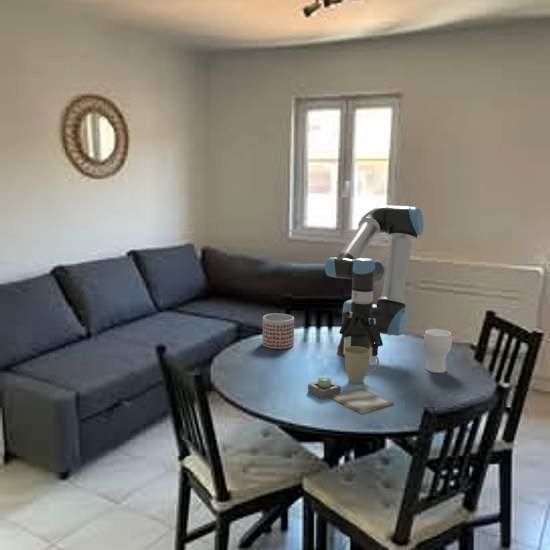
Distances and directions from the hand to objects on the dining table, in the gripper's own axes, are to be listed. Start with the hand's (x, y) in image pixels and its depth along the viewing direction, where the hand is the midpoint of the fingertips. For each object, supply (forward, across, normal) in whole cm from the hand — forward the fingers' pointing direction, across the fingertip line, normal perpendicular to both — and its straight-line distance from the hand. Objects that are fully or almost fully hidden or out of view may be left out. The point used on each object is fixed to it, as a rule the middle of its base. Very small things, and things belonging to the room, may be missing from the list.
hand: (359, 359), depth 206 cm
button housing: (+9, +2, -18) cm, 20 cm away
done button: (+7, +2, -18) cm, 19 cm away
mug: (+9, 0, 0) cm, 9 cm away
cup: (+8, +7, +34) cm, 36 cm away
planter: (+8, -52, 0) cm, 53 cm away
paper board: (+9, +14, -12) cm, 20 cm away
